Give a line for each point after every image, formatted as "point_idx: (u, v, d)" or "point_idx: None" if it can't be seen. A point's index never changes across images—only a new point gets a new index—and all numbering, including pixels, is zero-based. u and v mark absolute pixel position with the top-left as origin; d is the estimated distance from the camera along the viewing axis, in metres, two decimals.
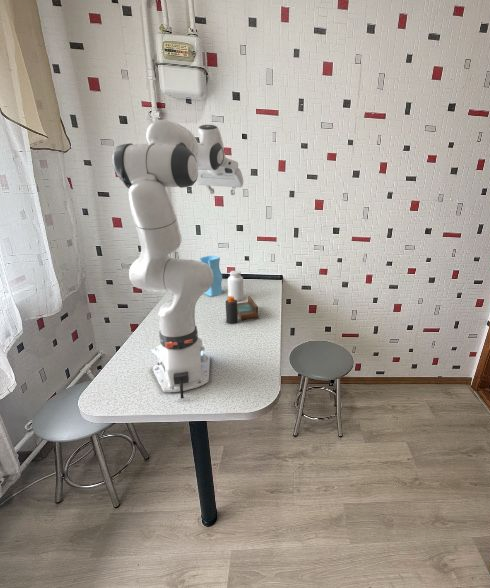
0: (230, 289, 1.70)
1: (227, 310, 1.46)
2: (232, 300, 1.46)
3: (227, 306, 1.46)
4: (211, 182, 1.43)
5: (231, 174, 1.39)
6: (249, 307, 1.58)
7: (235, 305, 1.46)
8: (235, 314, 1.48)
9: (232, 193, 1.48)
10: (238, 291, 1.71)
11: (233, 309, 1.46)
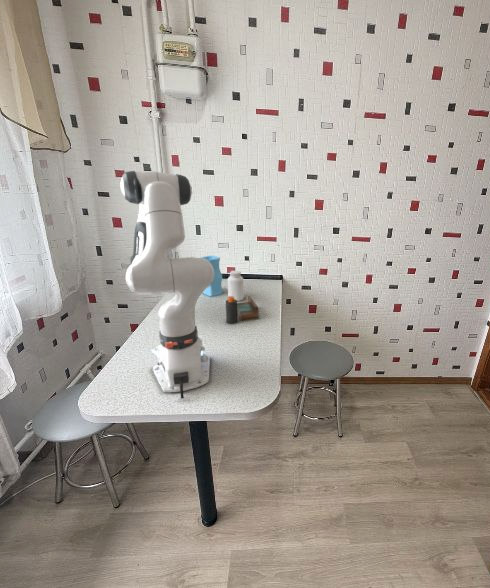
0: (230, 289, 1.70)
1: (227, 310, 1.46)
2: (232, 300, 1.46)
3: (227, 306, 1.46)
4: None
5: None
6: (249, 307, 1.58)
7: (235, 305, 1.46)
8: (235, 314, 1.48)
9: None
10: (238, 291, 1.71)
11: (233, 309, 1.46)
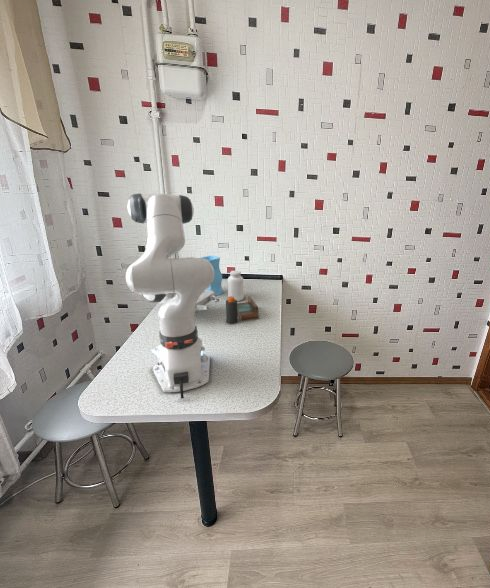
0: (230, 289, 1.70)
1: (227, 310, 1.46)
2: (232, 300, 1.46)
3: (227, 306, 1.46)
4: None
5: None
6: (249, 307, 1.58)
7: (235, 305, 1.46)
8: (235, 314, 1.48)
9: (216, 297, 1.54)
10: (238, 291, 1.71)
11: (233, 309, 1.46)
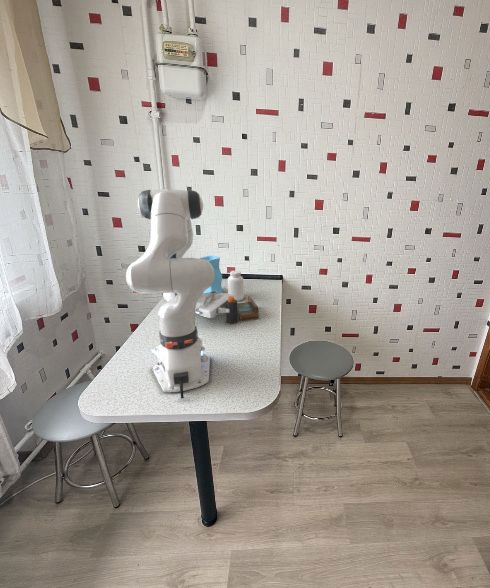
0: (230, 289, 1.70)
1: None
2: (232, 300, 1.46)
3: (227, 306, 1.46)
4: (216, 304, 1.46)
5: (217, 293, 1.55)
6: (249, 307, 1.58)
7: (235, 305, 1.46)
8: (235, 314, 1.48)
9: None
10: (238, 291, 1.71)
11: (233, 309, 1.46)
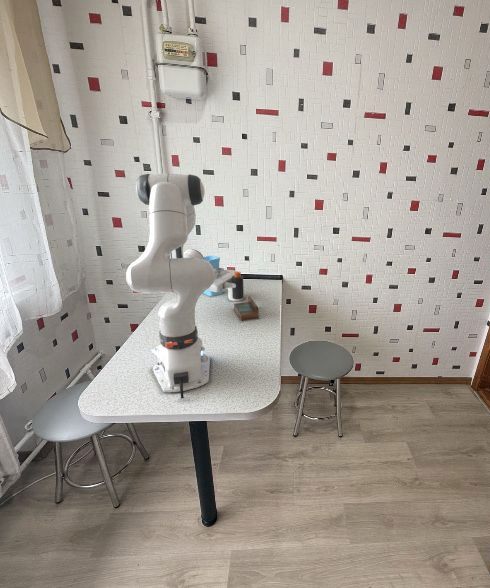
0: (230, 289, 1.70)
1: None
2: (238, 275, 1.47)
3: (233, 281, 1.47)
4: (222, 279, 1.47)
5: (223, 270, 1.56)
6: (249, 307, 1.58)
7: (241, 280, 1.47)
8: (241, 289, 1.49)
9: None
10: None
11: (239, 284, 1.47)
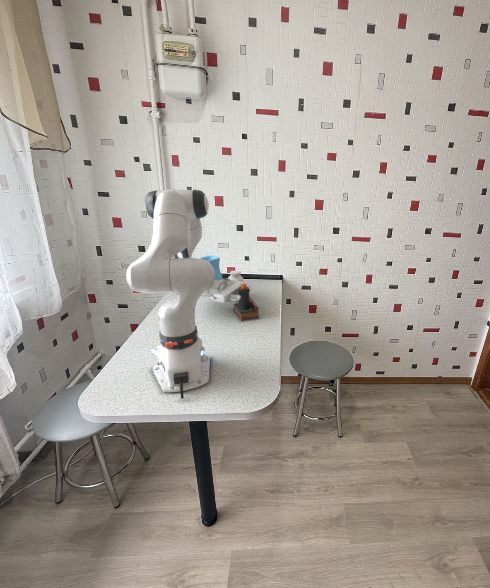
0: None
1: None
2: (244, 287, 1.53)
3: (240, 293, 1.53)
4: (229, 290, 1.53)
5: (230, 280, 1.62)
6: None
7: (247, 292, 1.53)
8: (248, 300, 1.55)
9: None
10: None
11: (245, 295, 1.53)
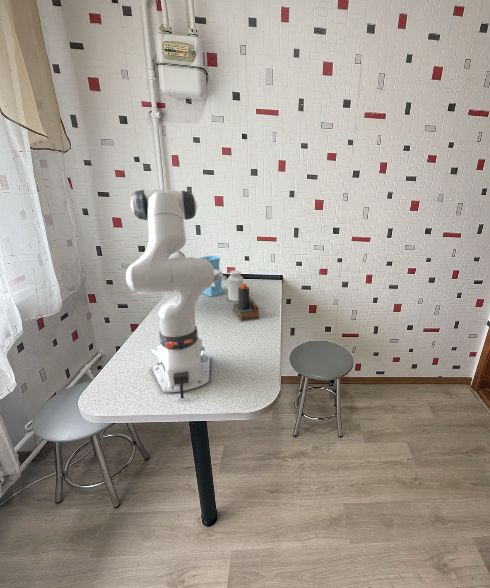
0: (230, 289, 1.70)
1: (240, 296, 1.53)
2: (244, 287, 1.53)
3: (240, 293, 1.53)
4: None
5: None
6: None
7: (247, 292, 1.53)
8: (248, 300, 1.55)
9: (224, 276, 1.60)
10: None
11: (245, 295, 1.53)
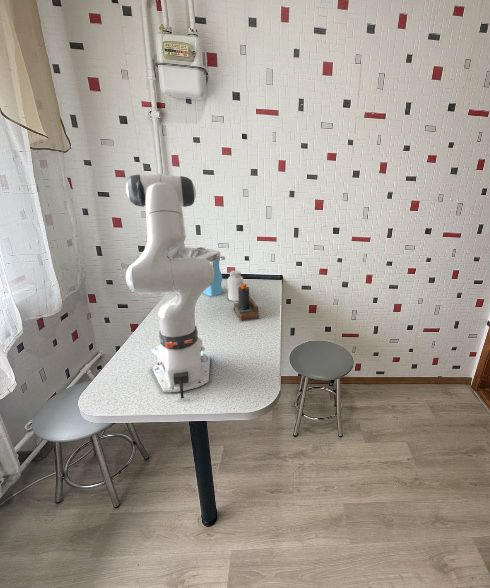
0: (230, 289, 1.70)
1: (240, 296, 1.53)
2: (244, 287, 1.53)
3: (240, 293, 1.53)
4: (202, 257, 1.50)
5: (204, 249, 1.60)
6: None
7: (247, 292, 1.53)
8: (248, 300, 1.55)
9: (222, 256, 1.56)
10: None
11: (245, 295, 1.53)
